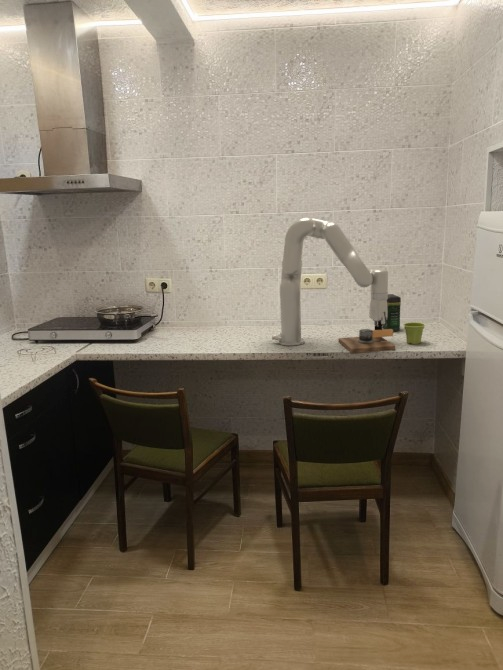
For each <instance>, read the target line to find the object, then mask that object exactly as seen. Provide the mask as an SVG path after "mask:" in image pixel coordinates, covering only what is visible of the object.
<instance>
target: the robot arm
mask: <svg viewBox="0 0 503 670" xmlns="http://www.w3.org/2000/svg"><path fill="white" fill-rule="evenodd" d="M307 237H311V238H315V239H321V240H325V242H326V243H327V245H328V246H329V247H330V249H331V251H332V252H333V253H334V255H335V256H336V258H337V259H338V260H339V262H340V263H341V264H342V265H343V267H344V268H346V270H347V271H348V273H349V274H350V276H351V277H352V278H353V280H354V282H355V283H356V285H358V287H360V288H368V287H370V300H369V301H370V303H369V314H368V315H369V319H371V320H372V321H373V322H374V323H373V324H374V330H383V324H385V321H386V320H387V299H388V294H389V293H388V291H389V288H388V287H389V271H388V270H387V269H384V268H378V269H368V267H367V266H366V264H365V263H364V261H363V260H362V259H361V257H360V255H359V253H357V251H356V250H357V249H355V247H354V246H353V245H352V243H351V241H350V240H349V239H348V237H347V235H346V234H345V233H344V231H343V230H342V228H341V227H340V226H339V225H338V224H337V223H336V222H334V221H327V220H322V219H316V218H312V217H308V216H307V217H302V218H300V219H298V220H297V221H295V222H293V223H292V224H291V225H290V226H289V227H288V229H287V231H286V233H285V237H284V246H283V253H282V255H283V256H282V261H281V267H282V268H281V279H280V280H281V281H280V286H279V299H280V300H279V301H280V303H279V304H280V305H279V306H280V325H281V327H280V329H281V332H280V333H279V334H278V335H272V336H271V341H272V340H275V341H278V344H279V345H282V346H289V347H291V346H299V345H300V346H301V345H303V344H305V339H304V338H302V312H301V307H302V306H301V281H302V280H301V278H302V266H303V260H302V259H303V258H302V257H303V254H302V253H303V246H304V241H305V239H306V238H307Z"/></svg>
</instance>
